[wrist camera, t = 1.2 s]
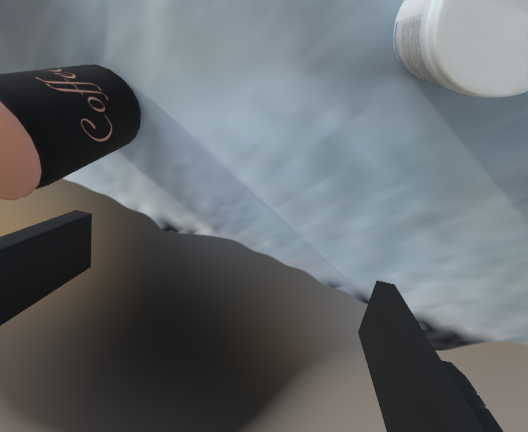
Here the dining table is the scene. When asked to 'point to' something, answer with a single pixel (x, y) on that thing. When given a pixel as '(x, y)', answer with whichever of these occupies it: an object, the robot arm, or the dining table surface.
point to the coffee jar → (60, 124)
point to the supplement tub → (465, 44)
